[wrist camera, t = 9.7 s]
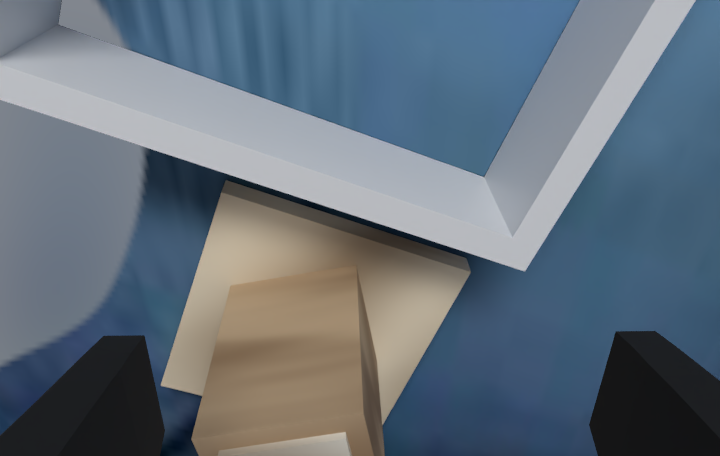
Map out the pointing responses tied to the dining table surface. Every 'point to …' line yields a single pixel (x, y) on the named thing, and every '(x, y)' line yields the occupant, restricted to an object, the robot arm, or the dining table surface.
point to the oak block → (293, 371)
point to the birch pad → (310, 254)
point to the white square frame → (350, 148)
